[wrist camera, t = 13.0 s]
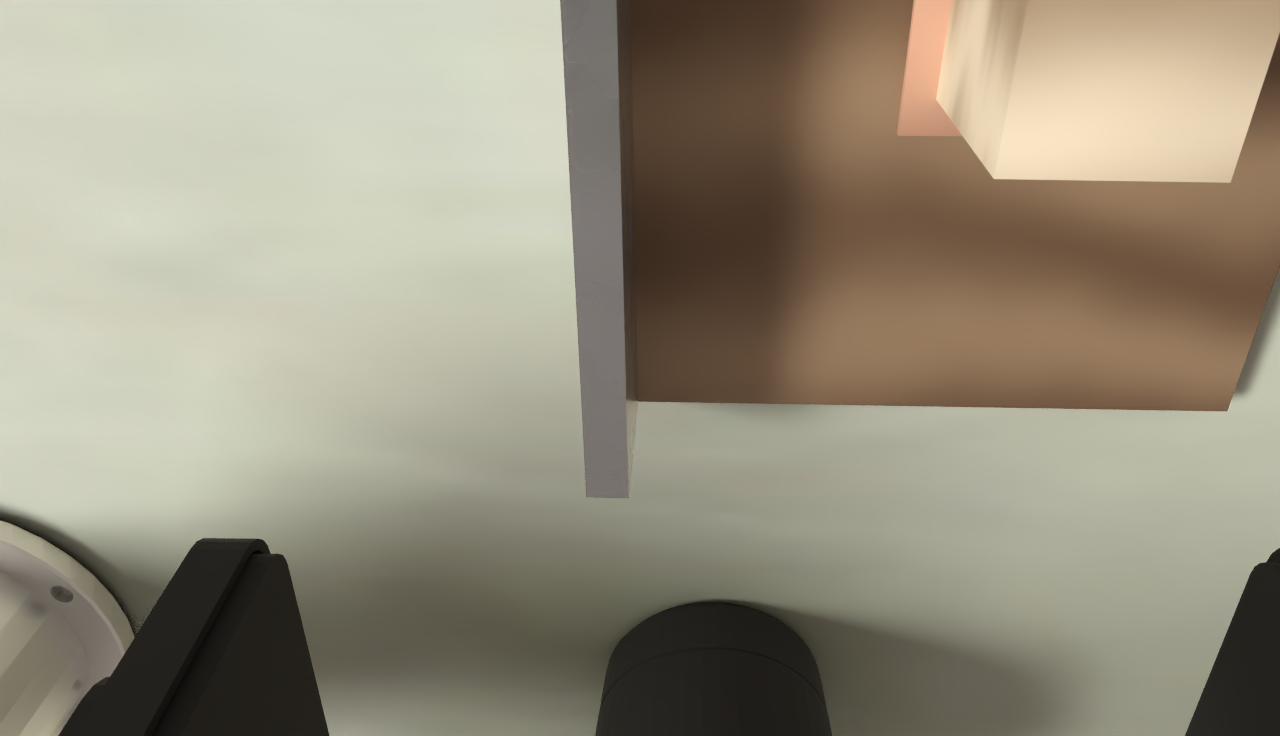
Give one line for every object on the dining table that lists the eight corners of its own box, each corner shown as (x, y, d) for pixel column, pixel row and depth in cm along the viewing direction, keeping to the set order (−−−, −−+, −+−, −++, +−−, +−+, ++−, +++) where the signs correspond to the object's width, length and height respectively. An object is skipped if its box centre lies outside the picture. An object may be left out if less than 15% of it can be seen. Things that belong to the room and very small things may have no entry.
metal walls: (1227, 411, 31) (1311, 513, 27) (601, 400, 32) (586, 497, 28) (1604, -634, 19) (1873, -755, 14) (560, -599, 20) (523, -702, 15)
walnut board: (1213, 394, 32) (1229, 414, 31) (603, 384, 33) (600, 404, 32) (1564, -617, 19) (1613, -639, 18) (566, -583, 20) (560, -603, 19)
